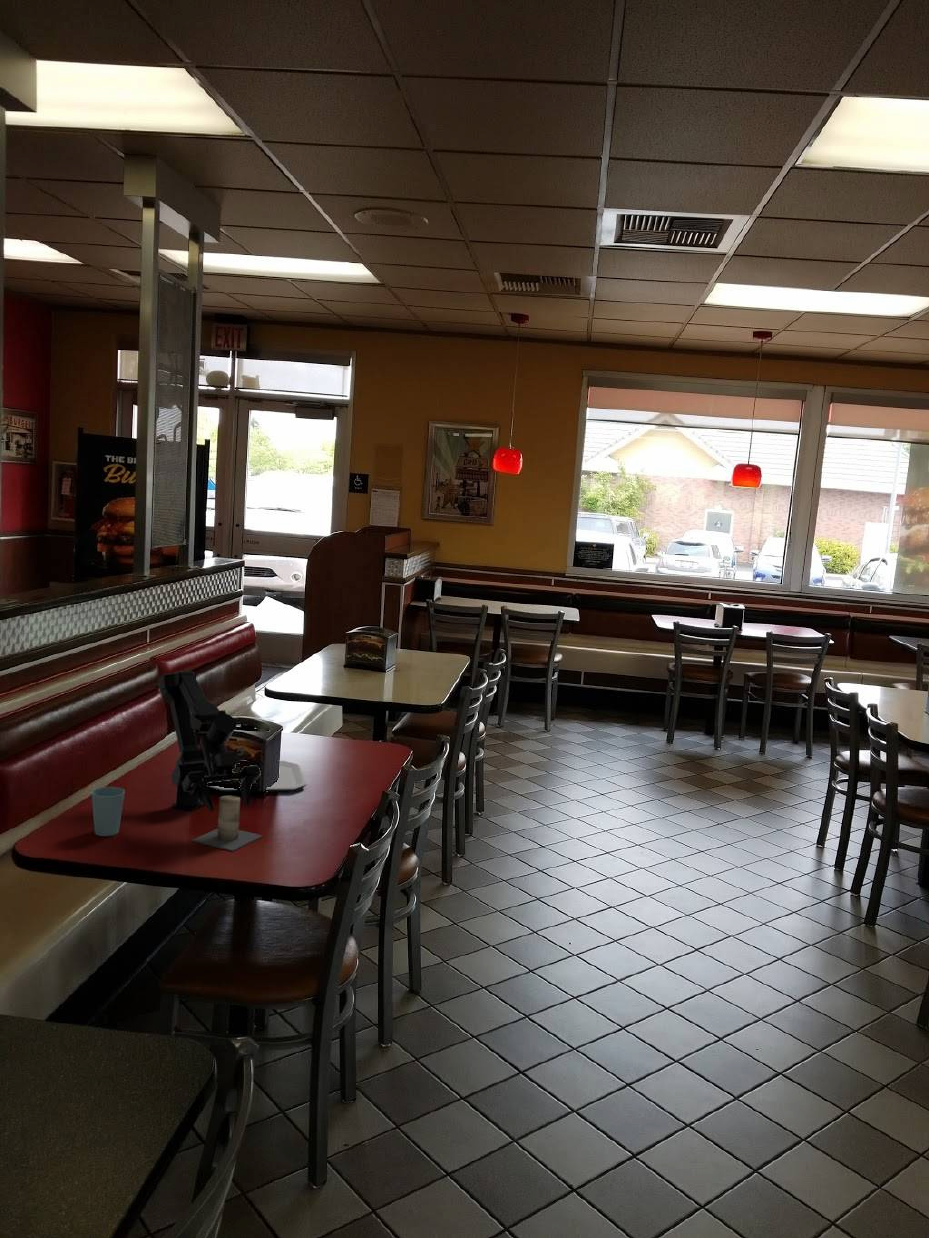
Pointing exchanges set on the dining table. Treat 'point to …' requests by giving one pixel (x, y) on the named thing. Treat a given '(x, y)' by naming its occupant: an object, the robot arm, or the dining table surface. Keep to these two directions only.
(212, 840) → the placemat
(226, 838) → the beige cylinder
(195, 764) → the robot arm
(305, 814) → the dining table surface
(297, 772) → the plate
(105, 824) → the cup
